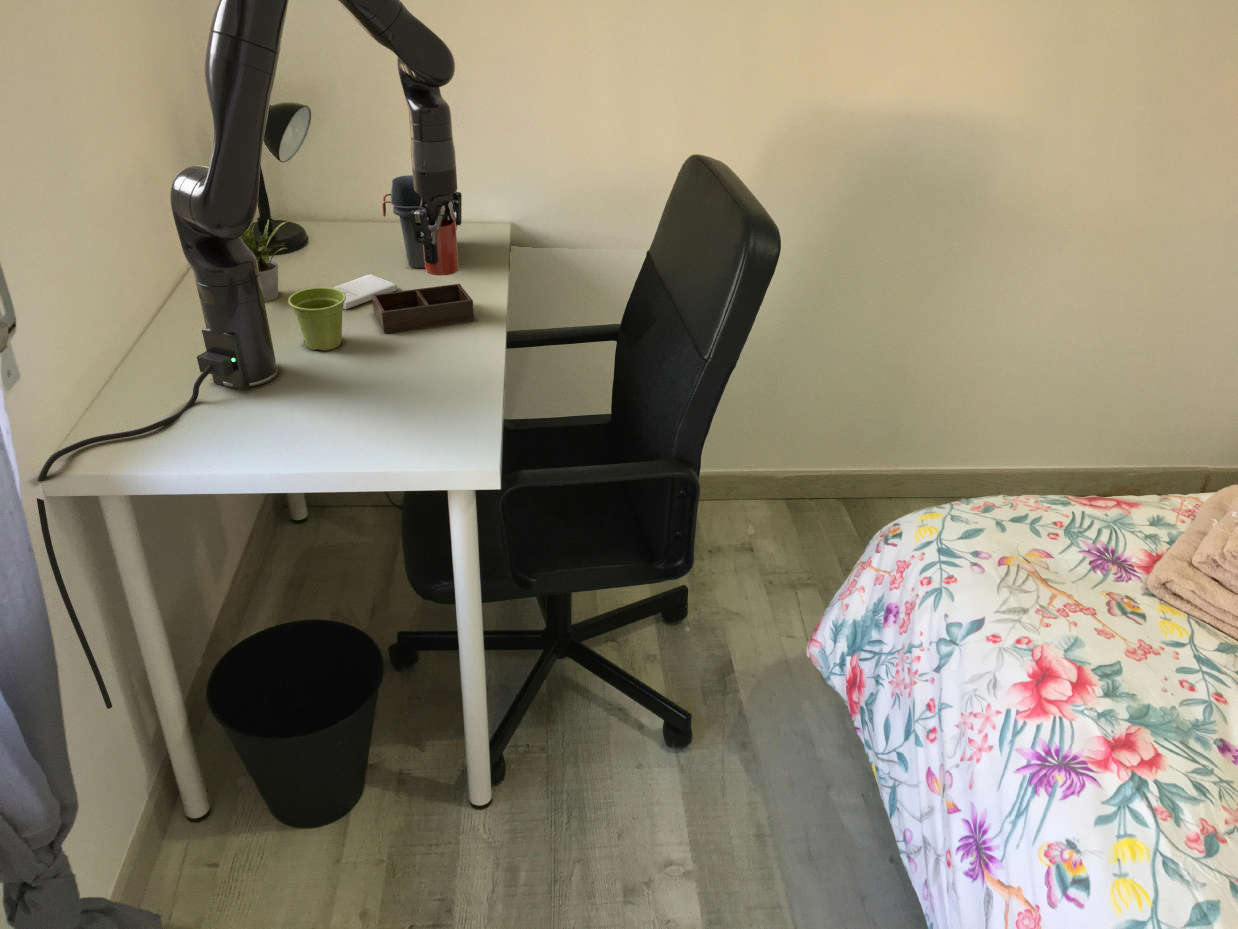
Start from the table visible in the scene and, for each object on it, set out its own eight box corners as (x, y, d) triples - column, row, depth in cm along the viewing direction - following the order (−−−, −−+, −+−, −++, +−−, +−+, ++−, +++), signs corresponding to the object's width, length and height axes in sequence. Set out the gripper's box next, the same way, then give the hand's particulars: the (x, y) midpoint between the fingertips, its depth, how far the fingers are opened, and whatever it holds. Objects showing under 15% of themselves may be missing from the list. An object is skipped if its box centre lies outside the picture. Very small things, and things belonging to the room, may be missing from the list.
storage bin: (462, 271, 190) (458, 204, 183) (386, 274, 188) (379, 205, 180) (458, 237, 208) (454, 174, 200) (388, 239, 205) (382, 175, 197)
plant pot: (362, 344, 160) (356, 298, 155) (314, 360, 154) (307, 313, 149) (333, 328, 165) (326, 282, 160) (285, 343, 159) (277, 296, 154)
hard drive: (397, 291, 180) (346, 310, 172) (369, 281, 184) (319, 298, 176) (396, 283, 179) (345, 302, 171) (369, 273, 183) (318, 290, 175)
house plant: (201, 304, 171) (182, 219, 162) (245, 278, 183) (229, 198, 174) (268, 315, 168) (252, 229, 160) (309, 288, 180) (296, 207, 171)
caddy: (474, 320, 170) (472, 300, 168) (384, 333, 164) (381, 312, 162) (460, 303, 177) (459, 283, 174) (374, 315, 170) (371, 294, 168)
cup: (448, 277, 164) (444, 229, 159) (419, 272, 165) (415, 224, 160) (464, 266, 168) (461, 219, 164) (436, 261, 170) (432, 214, 165)
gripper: (435, 151, 163) (442, 241, 172) (392, 171, 152) (402, 267, 161) (473, 156, 161) (477, 248, 170) (431, 177, 150) (439, 273, 159)
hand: (440, 256), depth 166 cm, fingers closed on cup, 6 cm apart
